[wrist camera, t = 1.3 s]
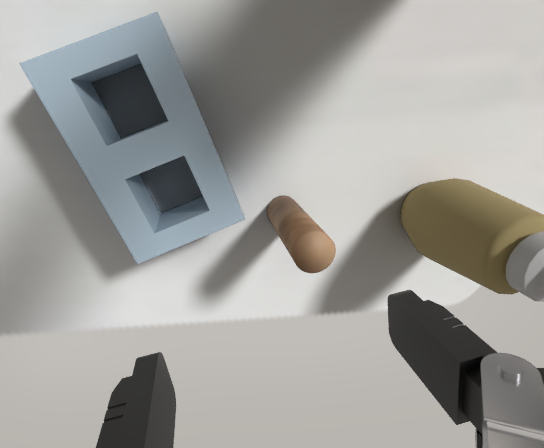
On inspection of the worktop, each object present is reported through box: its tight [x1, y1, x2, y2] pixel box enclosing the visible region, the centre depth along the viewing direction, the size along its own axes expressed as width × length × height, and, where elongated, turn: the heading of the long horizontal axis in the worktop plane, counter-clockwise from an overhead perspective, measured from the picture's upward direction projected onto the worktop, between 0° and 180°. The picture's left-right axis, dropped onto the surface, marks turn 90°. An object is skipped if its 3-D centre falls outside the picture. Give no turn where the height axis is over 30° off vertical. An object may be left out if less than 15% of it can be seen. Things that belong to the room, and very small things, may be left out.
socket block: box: [19, 12, 245, 264], centre depth 27 cm, size 9×15×5 cm, turn 20°
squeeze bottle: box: [400, 179, 544, 301], centre depth 28 cm, size 8×8×18 cm
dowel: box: [267, 196, 336, 273], centre depth 29 cm, size 3×3×10 cm
